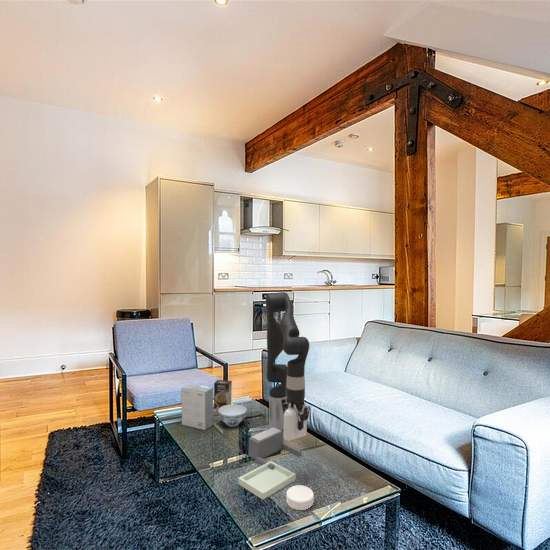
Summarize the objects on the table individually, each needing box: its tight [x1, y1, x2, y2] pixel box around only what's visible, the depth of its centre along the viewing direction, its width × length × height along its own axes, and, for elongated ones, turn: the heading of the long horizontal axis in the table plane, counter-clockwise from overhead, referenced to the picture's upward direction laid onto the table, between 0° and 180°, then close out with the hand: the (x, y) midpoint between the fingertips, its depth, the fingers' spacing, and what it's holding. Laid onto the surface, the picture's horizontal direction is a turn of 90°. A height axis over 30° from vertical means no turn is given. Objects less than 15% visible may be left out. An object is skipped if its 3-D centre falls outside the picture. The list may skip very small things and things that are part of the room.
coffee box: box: [213, 379, 233, 411], centre depth 223 cm, size 9×6×16 cm
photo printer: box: [283, 407, 308, 441], centre depth 155 cm, size 10×4×12 cm, turn 125°
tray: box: [237, 460, 297, 501], centre depth 150 cm, size 18×14×2 cm
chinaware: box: [217, 403, 248, 427], centre depth 203 cm, size 15×15×8 cm
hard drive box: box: [181, 383, 214, 431], centre depth 201 cm, size 16×8×20 cm, turn 65°
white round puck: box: [285, 484, 315, 511], centre depth 138 cm, size 10×10×4 cm
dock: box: [248, 427, 302, 470], centre depth 170 cm, size 18×16×9 cm
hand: (295, 427), depth 155 cm, fingers closed on photo printer, 4 cm apart
